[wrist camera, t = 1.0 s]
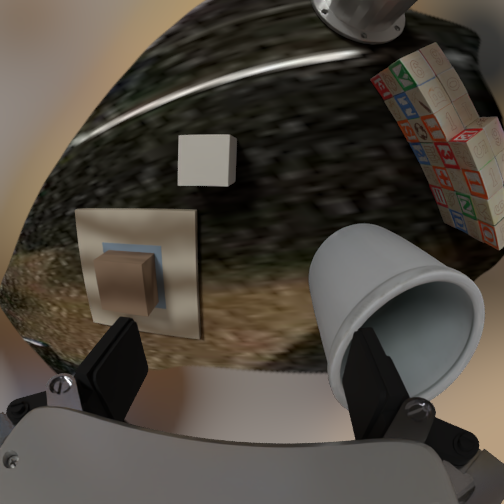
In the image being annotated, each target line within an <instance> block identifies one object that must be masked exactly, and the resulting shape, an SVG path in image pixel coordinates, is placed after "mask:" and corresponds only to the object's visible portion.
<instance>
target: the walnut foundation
mask: <svg viewBox="0 0 504 504" xmlns="http://www.w3.org/2000/svg"><path fill="white" fill-rule="evenodd" d="M93 261H94V268H95V274H96V280H97V285H98V291H99V296H100V301H101V306H102V309H103V310H109V311H114V312H120V313H126V314H133V315H139V316H146V317H148V316H149V315H150V313H151V312H152V311H153V309H154V308H155V306H156V305H157V304H158V302H159V299H158V290H157V280H156V269H155V256H154V253H145V252H131V251H117V250H108V251H106V252H105V253H103V254H102V255H100V256H99V257H97V258H96V259H94V260H93Z"/></svg>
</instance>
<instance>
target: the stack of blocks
mask: <svg viewBox="0 0 504 504" xmlns="http://www.w3.org/2000/svg"><path fill="white" fill-rule="evenodd" d="M370 81H371V82H372V83H373V85H374V86H375V88H376V89H377V91H378V92H379V93H380V95H381V96H382V98H383V99H384V102H385V104H386V105H387V107H388V108H389V110H390V112H391V113H392V115H393V117H394V118H395V120H396V121H397V123H398V125H399V127H400V129H401V130H402V132H403V134H404V136H405V138H406V139H407V141H408V142H409V144H410V146H411V148H412V150H413V152H414V154H415V155H416V157H417V159H418V162H419V163H420V165H421V167H422V169H423V172H424V174H425V176H426V178H427V180H428V182H429V186H430V188H431V190H432V193H433V195H434V197H435V200H436V202H437V205H438V208H439V210H440V213H441V216H442V218H443V221H444V223H446V224H448V225H450V226H452V227H454V228H457V229H459V230H461V231H463V232H465V233H467V234H469V235H470V236H472V237H473V238H475V239H477V240H479V241H481V242H483V243H484V242H485V243H487V244H488V245H490V246H492V247H494V248H495V249H497V250H501V249H502V248H503V247H504V132H503V129H502V127H501V124H500V122H499V120H498V118H497V117H479V115H478V113H477V111H476V109H475V107H474V105H473V103H472V101H471V99H470V97H469V95H468V94H467V91H466V89H465V87H464V85H463V83H462V82H461V80H460V78H459V76H458V75H457V73H456V71H455V69H454V68H453V67H452V66H451V64H450V62H449V61H448V59H447V58H446V56H445V55H444V53H443V51H442V50H441V49H440V47H439V46H438V44H437V43H436V42H435V43H433V44H430V45H428V46H426V47H423V48H421V49H419V50H417V51H415V52H413V53H411V54H409V55H407V56H405V57H403V58H400V59H399V60H397V61H396V62H394V63H393V64H391V65H390V66H388V68H386V69H385V70H383V71H381V72H380V73H379V74H378V75H376V76H374V77H373V78H372V79H371V80H370Z"/></svg>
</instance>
